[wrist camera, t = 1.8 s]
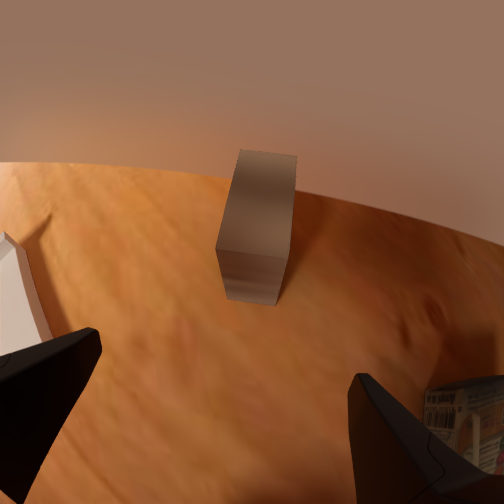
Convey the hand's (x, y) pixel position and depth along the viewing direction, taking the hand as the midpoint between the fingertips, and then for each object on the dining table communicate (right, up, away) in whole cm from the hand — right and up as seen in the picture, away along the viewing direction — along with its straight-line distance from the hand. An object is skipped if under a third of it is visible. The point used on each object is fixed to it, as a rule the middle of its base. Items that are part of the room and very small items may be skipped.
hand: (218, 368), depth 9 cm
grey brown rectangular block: (+2, +3, +17) cm, 17 cm away
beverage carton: (+19, -17, +7) cm, 27 cm away
